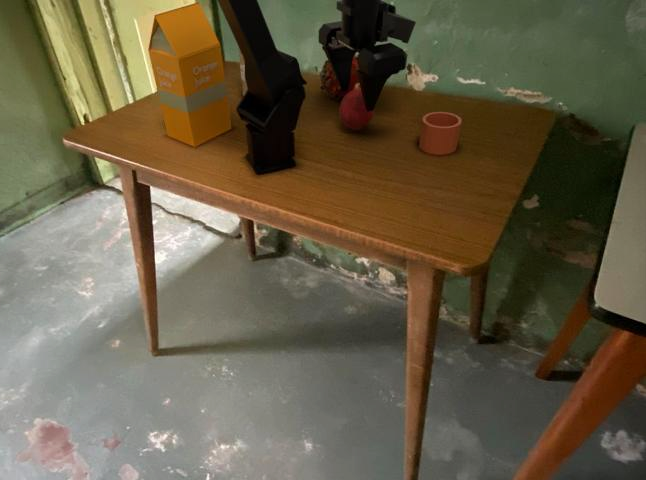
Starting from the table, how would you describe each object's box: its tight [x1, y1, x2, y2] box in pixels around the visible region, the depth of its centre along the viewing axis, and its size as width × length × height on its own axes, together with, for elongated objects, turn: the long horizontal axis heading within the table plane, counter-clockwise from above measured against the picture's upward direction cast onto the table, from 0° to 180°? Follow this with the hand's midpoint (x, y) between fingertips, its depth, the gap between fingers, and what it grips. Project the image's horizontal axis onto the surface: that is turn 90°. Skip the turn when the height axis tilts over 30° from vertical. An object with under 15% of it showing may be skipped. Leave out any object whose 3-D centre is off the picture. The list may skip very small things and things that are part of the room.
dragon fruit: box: [319, 54, 359, 101], centre depth 94 cm, size 8×8×12 cm
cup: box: [418, 111, 463, 156], centre depth 77 cm, size 6×6×4 cm
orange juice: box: [147, 1, 232, 148], centre depth 81 cm, size 8×9×20 cm
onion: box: [339, 83, 375, 132], centre depth 82 cm, size 6×6×8 cm
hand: (356, 100), depth 81 cm, fingers open, 9 cm apart
